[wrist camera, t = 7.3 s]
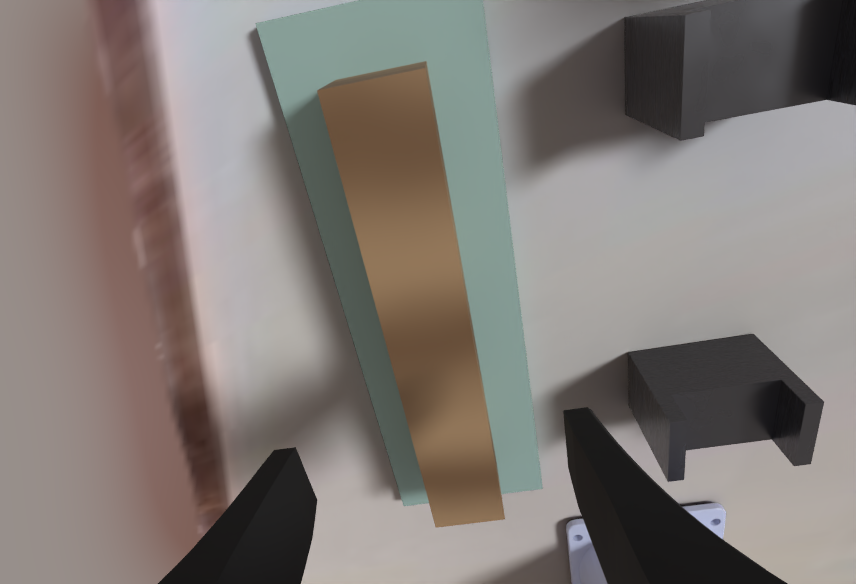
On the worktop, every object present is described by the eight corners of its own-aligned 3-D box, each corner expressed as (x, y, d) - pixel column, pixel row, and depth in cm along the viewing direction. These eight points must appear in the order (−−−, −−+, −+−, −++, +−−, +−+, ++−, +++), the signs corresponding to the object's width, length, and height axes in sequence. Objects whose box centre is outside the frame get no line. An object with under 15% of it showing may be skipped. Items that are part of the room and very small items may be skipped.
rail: (497, 465, 24) (505, 519, 22) (435, 473, 25) (435, 527, 22) (426, 61, 16) (425, 68, 14) (335, 80, 17) (316, 90, 14)
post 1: (784, 84, 17) (888, 101, 13) (625, 114, 18) (680, 140, 14) (797, -19, 16) (917, -34, 12) (624, 17, 16) (685, 15, 12)
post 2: (746, 389, 23) (810, 463, 19) (628, 405, 23) (667, 481, 20) (753, 333, 22) (824, 402, 18) (628, 352, 22) (670, 422, 18)
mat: (540, 479, 26) (542, 488, 25) (404, 496, 26) (403, 506, 26) (477, -25, 16) (479, -27, 15) (261, 23, 16) (255, 23, 16)
